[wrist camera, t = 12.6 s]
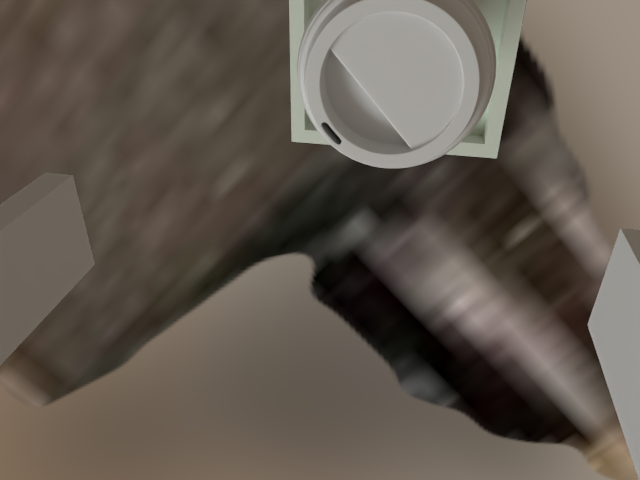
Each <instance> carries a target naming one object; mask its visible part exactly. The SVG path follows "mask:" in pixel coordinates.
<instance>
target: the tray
mask: <svg viewBox="0 0 640 480" xmlns="http://www.w3.org/2000/svg"><path fill="white" fill-rule="evenodd" d="M322 1H323V0H289V17H290V74H291V132H292V142H304V143H316V144H328V145H330V144H329V143H328V142H327V141H326V140H325V139H324V138H323V137H322V135H321V134H320V133H319V132H318V131H317V129H316V128H315V126H314V125H313V123H312V122H311V120H310V118H309V116H308V114H307V112H306V110H305V108H304V105H303V102H302V99H301V95H300V91H299V85H298V76H297V61H298V52H299V47H300V43H301V39H302V36H303V33H304V31H305V28H306V26H307V24H308V22H309V20H310V18H311V17H312V15H313V13H314V12H315V10H316V9H317V8H318V6H319V5H320V4H321V3H322ZM473 1H474V2H475V4H476V5H477V6H478V8H479V9H480V11H481V12H482V14H483V16H484V17H485V19H486V21H487V24H488V26H489V28H490V31H491V34H492V37H493V41H494V46H495V52H496V77H495V83H494V88H493V92H492V95H491V98H490V101H489V103H488V106H487V108H486V110H485V112H484V114H483V115H482V117H481V119H480V120H479V122H478V123H477V125H476V126H475V127H474V129H473V130H472V131H471V132H470V133H469V135H468V136H467V137H466V138H465V139H464V140H463V141H462V142H461V143H459V144H458V145H457V146H456V147H455V148H453V149H452V150H450V151H449V152H447V153H446V154H449V155H461V156H473V157H486V158H497V154H498V149H499V144H500V138H501V133H502V128H503V123H504V117H505V112H506V107H507V102H508V96H509V91H510V86H511V81H512V75H513V70H514V65H515V60H516V55H517V49H518V44H519V39H520V34H521V28H522V23H523V18H524V13H525V7H526V2H527V0H473Z"/></svg>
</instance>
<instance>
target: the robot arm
mask: <svg viewBox="0 0 640 480" xmlns="http://www.w3.org/2000/svg"><path fill="white" fill-rule="evenodd" d="M94 265H95V264H94V260H93V256H92V252H91V248H90V244H89V240H88V235H87V231H86V227H85V223H84V219H83V215H82V211H81V207H80V203H79V199H78V195H77V191H76V187H75V183H74V179H73V175H65V174H55V173H44V174H43V175H41V176H40V177H38V178H37V179H36V180H34V181H33V182H31V183H30V184H29V185H27V186H26V187H24V188H23V189H21V190H20V191H19V192H17V193H16V194H14V195H13V196H12V197H10V198H9V199H7V200H6V201H4V202H3V203H2V204H0V365H1V364H2V363H3V362H4V361H5V360H6V359H7V358H8V357H9V356H10V354H11V353H12V352H13V351H14V350H15V349H16V348H17V347H18V346H19V345H20V344H21V343H22V342H23V341H24V339H25V338H26V337H27V336H28V335H29V334H30V333H31V332H32V331H33V330H34V329H35V328H36V327H37V326H38V325H39V323H40V322H41V321H42V320H43V319H44V318H45V317H46V316H47V315H48V314H49V313H50V312H51V311H52V310H53V308H54V307H55V306H56V305H57V304H58V303H59V302H60V301H61V300H62V299H63V298H64V297H65V296H66V295H67V293H68V292H69V291H70V290H71V289H72V288H73V287H74V286H75V285H76V284H77V283H78V282H79V281H80V280H81V279H82V277H83V276H84V275H85V274H86V273H87V272H88V271H89V270H90V269H91V268H92V267H93V266H94ZM588 328H589V331H590V334H591V337H592V340H593V343H594V346H595V349H596V352H597V355H598V358H599V361H600V364H601V367H602V370H603V373H604V376H605V379H606V382H607V385H608V388H609V391H610V394H611V397H612V400H613V403H614V406H615V409H616V412H617V415H618V418H619V421H620V424H621V427H622V430H623V433H624V436H625V439H626V442H627V445H628V449H629V452H630V455H631V458H632V461H633V464H634V467H635V470H636V473H637V476H638V479H639V480H640V230H633V229H622V228H621V229H620V232H619V235H618V238H617V241H616V243H615V246H614V249H613V252H612V255H611V258H610V261H609V264H608V267H607V269H606V272H605V275H604V278H603V281H602V284H601V287H600V290H599V293H598V296H597V299H596V302H595V305H594V307H593V310H592V313H591V316H590V319H589V322H588Z"/></svg>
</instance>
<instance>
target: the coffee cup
mask: <svg viewBox="0 0 640 480" xmlns="http://www.w3.org/2000/svg"><path fill="white" fill-rule="evenodd" d="M297 76H298V85H299V91H300V95H301V99H302V102H303V105H304V108H305V110H306V112H307V114H308V116H309V118H310V120H311V122H312V123H313V125H314V126H315V128H316V129H317V131H318V132H319V133H320V134H321V135H322V137H323V138H324V139H325V140H326V141H327V142H328V143H329V144H330V145H332V146H333V147H334V148H335V149H337V150H338V151H339V152H341V153H342V154H344V155H346V156H347V157H349V158H351V159H353V160H355V161H358V162H360V163H363V164H366V165H370V166H375V167H381V168H406V167H412V166H417V165H421V164H424V163H427V162H430V161H432V160H434V159H437V158H439V157H441V156H442V155H444V154H446V153H447V152H449V151H450V150H452V149H453V148H455V147H456V146H457V145H458V144H459V143H461V142H462V141H463V140H464V139H465V138H466V137H467V136H468V135H469V133H470V132H471V131H472V130H473V129H474V127H475V126H476V125H477V123H478V122H479V120H480V119H481V117H482V115H483V114H484V112H485V110H486V108H487V106H488V103H489V101H490V98H491V95H492V92H493V88H494V83H495V77H496V52H495V46H494V41H493V37H492V34H491V31H490V28H489V26H488V24H487V21H486V19H485V17H484V16H483V14H482V12H481V11H480V9H479V8H478V6H477V5H476V4H475V2H474V1H473V0H323V1H322V3H321V4H320V5H319V6H318V8H317V9H316V10H315V12H314V13H313V15H312V17H311V18H310V20H309V22H308V24H307V26H306V28H305V31H304V33H303V36H302V39H301V43H300V47H299V52H298V61H297Z"/></svg>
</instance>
